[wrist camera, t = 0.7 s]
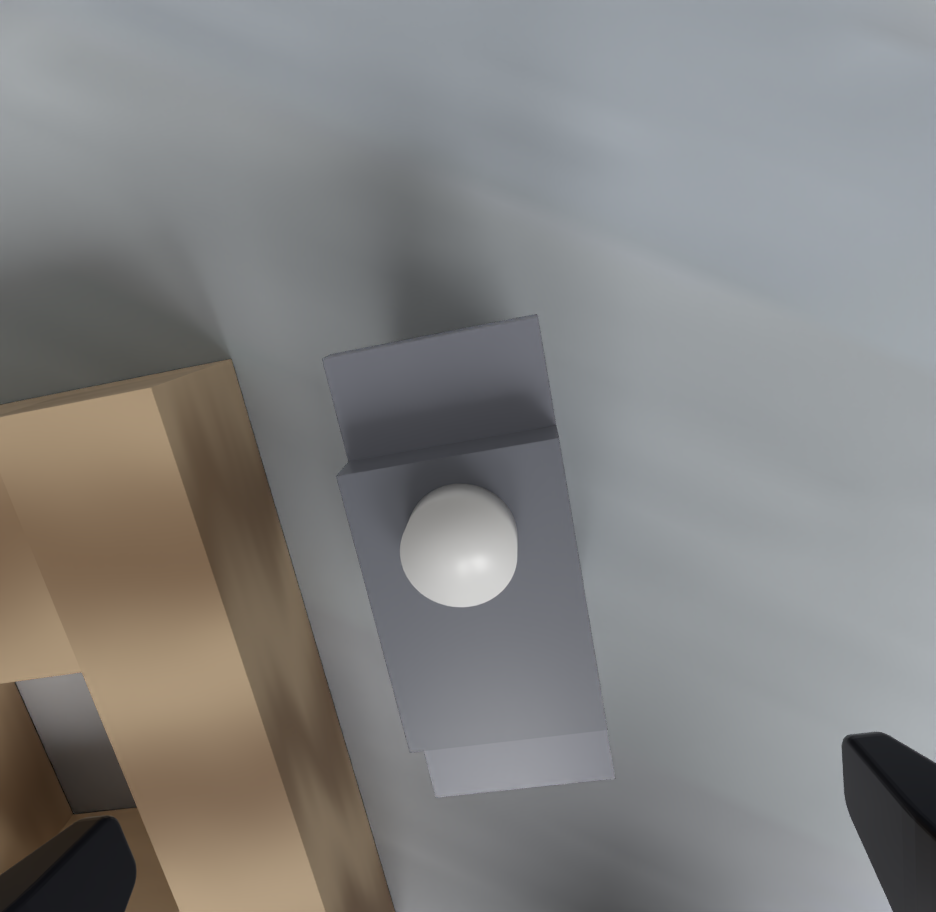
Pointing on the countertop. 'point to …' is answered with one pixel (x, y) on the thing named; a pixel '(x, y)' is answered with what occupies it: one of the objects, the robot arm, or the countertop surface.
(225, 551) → the chassis board
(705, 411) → the countertop surface
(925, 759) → the robot arm
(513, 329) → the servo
